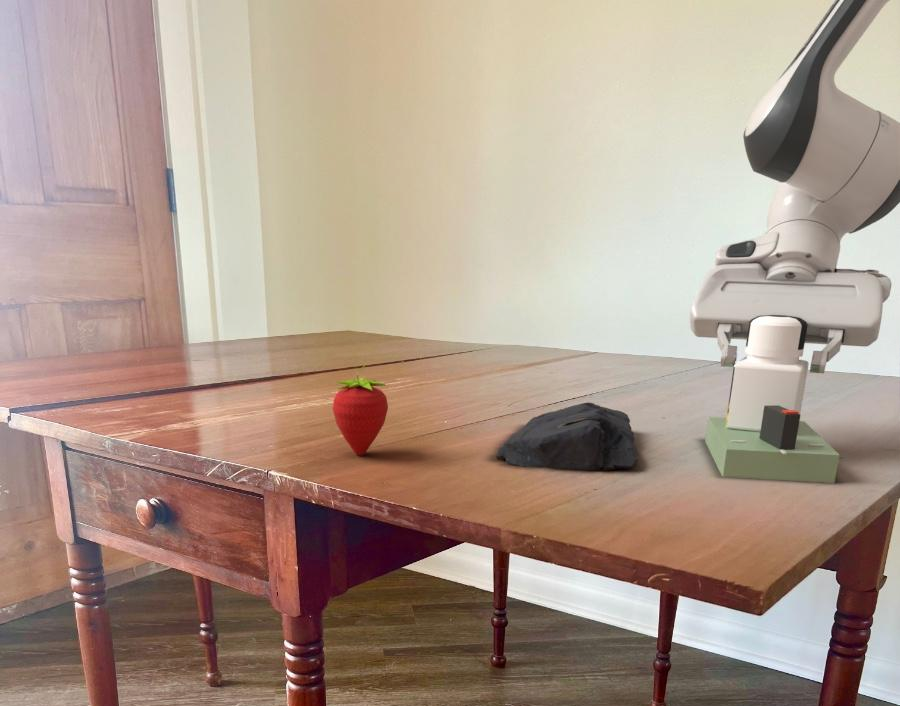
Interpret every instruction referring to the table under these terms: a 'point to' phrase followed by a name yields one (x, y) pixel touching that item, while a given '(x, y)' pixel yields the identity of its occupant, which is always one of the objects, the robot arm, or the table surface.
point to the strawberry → (360, 412)
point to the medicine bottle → (768, 371)
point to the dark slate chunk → (573, 440)
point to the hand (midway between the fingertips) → (771, 366)
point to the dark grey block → (779, 426)
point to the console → (770, 454)
